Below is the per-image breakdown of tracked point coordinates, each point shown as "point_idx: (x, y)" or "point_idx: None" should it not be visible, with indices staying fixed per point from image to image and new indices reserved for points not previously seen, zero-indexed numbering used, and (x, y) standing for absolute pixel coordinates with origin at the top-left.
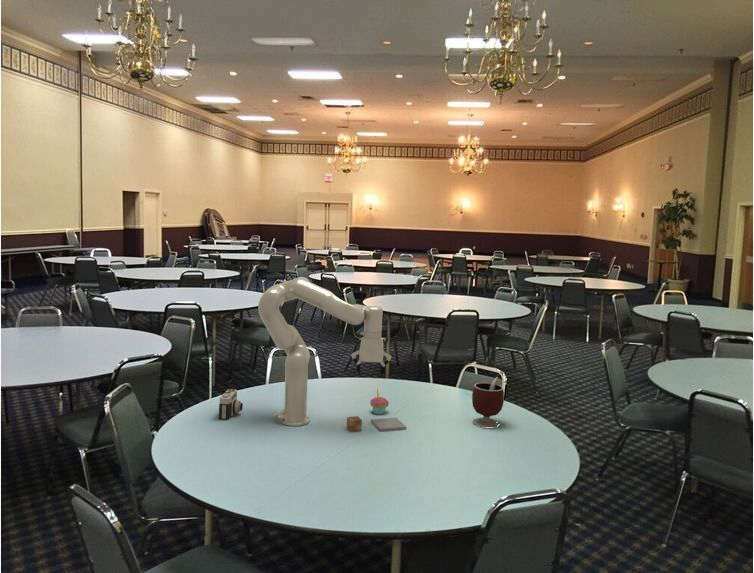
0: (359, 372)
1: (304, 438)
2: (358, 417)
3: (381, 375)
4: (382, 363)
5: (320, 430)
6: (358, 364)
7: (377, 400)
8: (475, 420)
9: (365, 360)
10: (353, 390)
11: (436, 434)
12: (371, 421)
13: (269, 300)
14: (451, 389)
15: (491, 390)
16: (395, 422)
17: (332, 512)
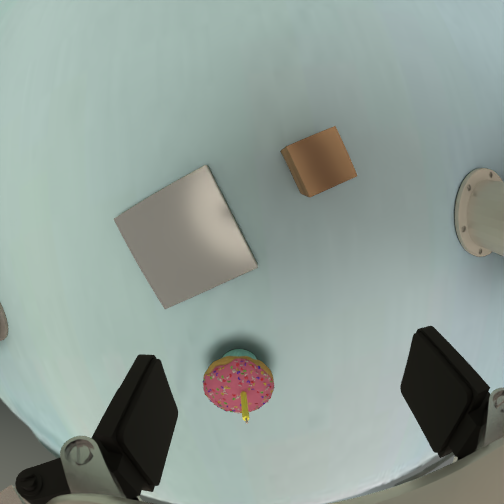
0: (427, 338)
1: (437, 73)
2: (307, 179)
3: (149, 355)
4: (87, 478)
5: (418, 140)
6: (491, 400)
7: (243, 381)
8: (1, 322)
9: (478, 474)
10: (324, 469)
11: (40, 201)
12: (253, 257)
13: None
14: None
15: None
16: (156, 255)
17: None
